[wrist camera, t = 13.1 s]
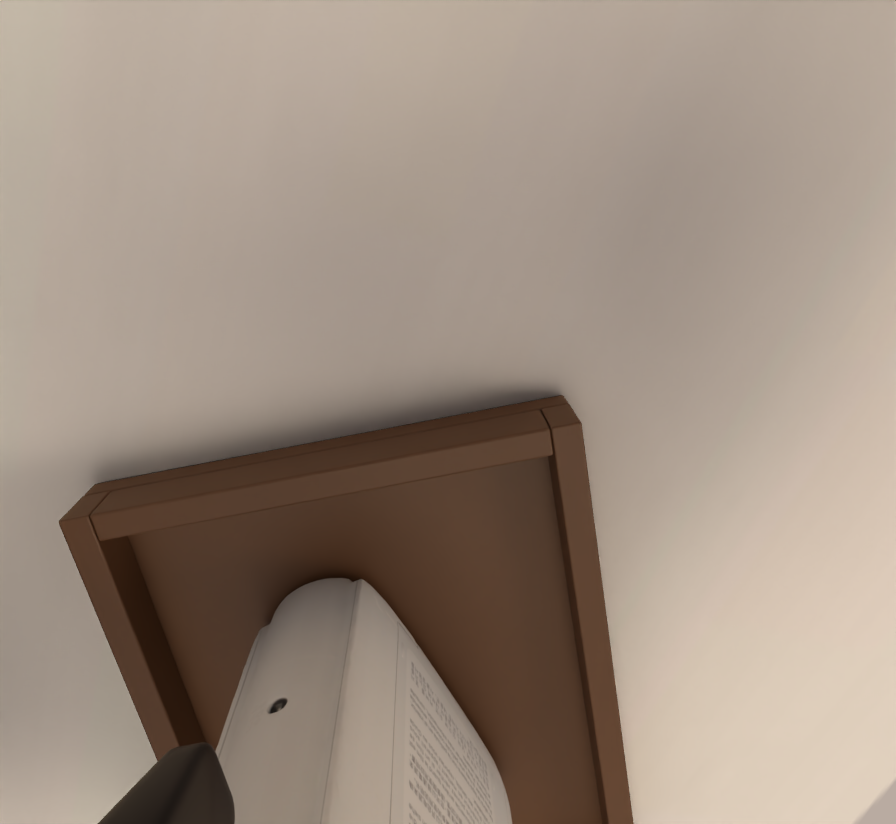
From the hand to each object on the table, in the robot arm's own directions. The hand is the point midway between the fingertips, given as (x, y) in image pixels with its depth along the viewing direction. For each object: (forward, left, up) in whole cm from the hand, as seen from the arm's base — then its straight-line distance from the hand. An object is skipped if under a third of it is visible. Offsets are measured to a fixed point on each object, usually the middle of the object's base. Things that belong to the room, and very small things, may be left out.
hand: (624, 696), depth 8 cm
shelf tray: (-5, -10, -13) cm, 17 cm away
